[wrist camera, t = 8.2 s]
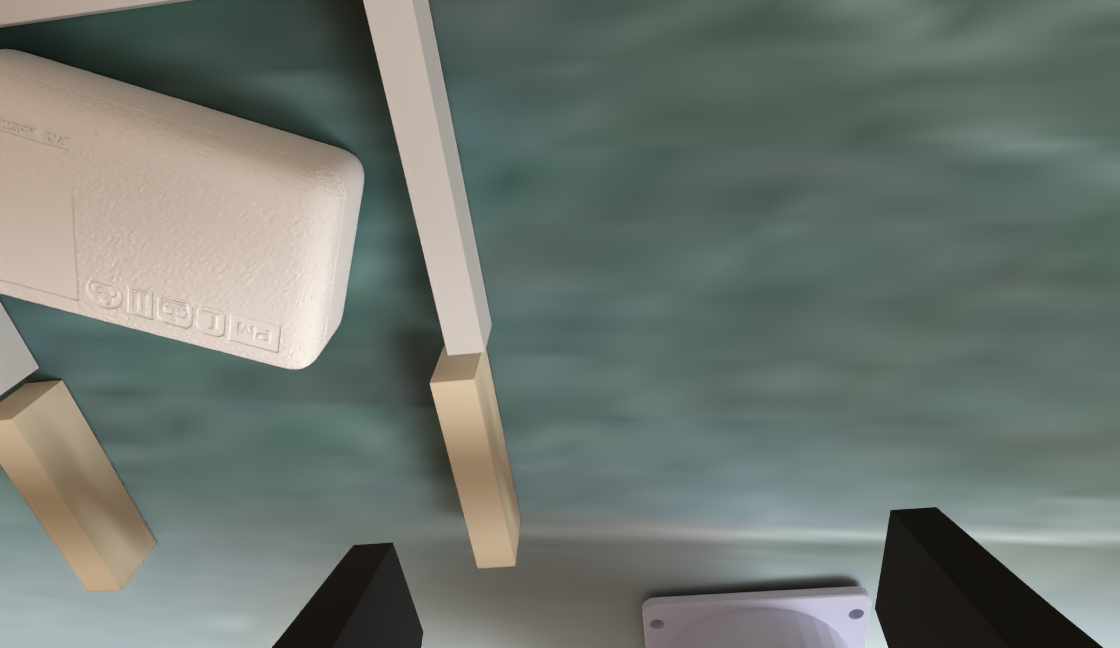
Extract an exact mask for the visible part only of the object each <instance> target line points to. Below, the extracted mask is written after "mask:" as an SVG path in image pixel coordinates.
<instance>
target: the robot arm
mask: <svg viewBox="0 0 1120 648" xmlns="http://www.w3.org/2000/svg"><path fill="white" fill-rule="evenodd" d="M871 604H872V601H871V597H870V595H869V593H868V591H867V590H866V589H865V588H862V587H858V586H850V587H832V588H814V589H796V590H778V591H760V592H742V593H725V594H707V595H689V596H671V597H654V598H650V599H648V600H646V601H645V602H644V603H643V604H642V616H643V627H644V638H645V648H865V643H866V636H867V630H868V623H869V617H870V611H871ZM875 610H876V613H877V616H878V619H879V622H880V624H881V627H882V630H883V633H884V636H885V639H886V642H887V645H888V648H1103V647H1102V646H1100V645H1099V644H1098V643H1097V642H1096V641H1094V640H1093V639H1092V638H1091V637H1089V636H1088V635H1087V634H1086V633H1084V632H1083V631H1082V630H1081V629H1080V628H1078V627H1077V626H1076V625H1075V624H1073V623H1072V622H1071V621H1070V620H1068V619H1067V618H1066V617H1065V616H1064V615H1062V614H1061V613H1060V612H1059V611H1057V610H1056V609H1055V608H1054V607H1053V606H1051V605H1050V604H1049V603H1048V602H1047V601H1045V600H1044V599H1043V598H1042V597H1041V596H1039V595H1038V594H1037V593H1036V592H1035V591H1034V590H1032V589H1031V588H1030V587H1029V586H1028V585H1026V584H1025V583H1024V582H1023V581H1022V580H1021V579H1019V578H1018V577H1017V576H1016V575H1015V574H1014V573H1012V572H1011V571H1010V570H1009V569H1008V568H1006V567H1005V566H1004V565H1003V564H1002V563H1001V562H999V561H998V560H997V559H996V558H995V557H994V556H992V555H991V554H990V553H989V552H988V551H987V550H985V549H984V548H983V547H982V546H981V545H980V544H979V543H977V542H976V541H975V540H974V539H973V538H972V537H970V536H969V535H968V534H967V533H966V532H965V531H963V530H962V529H961V528H960V527H959V526H958V525H956V524H955V523H954V522H953V521H952V520H950V519H949V518H948V517H947V516H946V515H945V514H943V513H942V512H941V511H940V510H939V509H938V508H936V507H933V508H917V509H902V510H891V511H890V518H889V524H888V530H887V536H886V543H885V549H884V555H883V561H882V568H881V574H880V580H879V586H878V593H877V599H876V605H875ZM422 637H423V630H422V627H421V624H420V621H419V618H418V615H417V612H416V609H415V606H414V604H413V601H412V598H411V595H410V592H409V589H408V586H407V583H406V580H405V577H404V574H403V571H402V568H401V565H400V562H399V559H398V556H397V553H396V550H395V547H394V545H393V543H380V544H365V545H354V546H353V547H352V548H351V549H350V550H349V551H348V553H347V554H346V555H345V556H344V558H343V559H342V560H341V561H340V563H339V564H338V565H337V566H336V568H335V569H334V570H333V571H332V573H331V574H330V575H329V576H328V578H327V579H326V580H325V582H324V583H323V584H322V585H321V587H320V588H319V589H318V590H317V592H316V593H315V594H314V596H313V597H312V598H311V599H310V601H309V602H308V603H307V604H306V606H305V607H304V608H303V610H302V611H301V612H300V613H299V615H298V616H297V617H296V618H295V620H294V621H293V622H292V623H291V625H290V626H289V627H288V628H287V630H286V631H285V632H284V633H283V635H282V636H281V637H280V638H279V640H278V641H277V642H276V643H275V644H274V646H273V647H272V648H421V645H422Z"/></svg>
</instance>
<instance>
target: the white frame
mask: <svg viewBox="0 0 1120 648" xmlns="http://www.w3.org/2000/svg"><path fill="white" fill-rule="evenodd" d="M185 1H192V0H0V28H3V27H10V26H17V25H24V24H31V23H38V22H45V21H52V20H59V19H66V18H73V17H80V16H87V15H94V14H101V13H108V12H115V11H122V10H129V9H136V8H143V7H150V6H157V5H164V4H171V3H178V2H185ZM363 2H364V6H365V10H366V14H367V18H368V23H369V27H370V31H371V35H372V39H373V44H374V48H375V52H376V56H377V60H378V64H379V69H380V73H381V77H382V81H383V85H384V90H385V94H386V98H387V102H388V106H389V111H390V115H391V119H392V123H393V127H394V132H395V136H396V140H397V144H398V148H399V153H400V157H401V161H402V165H403V169H404V174H405V178H406V182H407V186H408V190H409V195H410V199H411V203H412V207H413V211H414V216H415V220H416V224H417V228H418V232H419V237H420V241H421V245H422V249H423V253H424V258H425V262H426V266H427V270H428V274H429V279H430V283H431V287H432V291H433V295H434V300H435V304H436V308H437V312H438V316H439V321H440V325H441V329H442V333H443V337H444V342H445V346H446V350H447V354H448V355H459V354H470V353H481V352H485V349H486V345H487V342H488V338H489V334H490V330H491V326H492V324H491V319H490V314H489V308H488V303H487V298H486V293H485V288H484V283H483V278H482V273H481V268H480V263H479V257H478V252H477V247H476V242H475V237H474V232H473V227H472V222H471V217H470V211H469V206H468V201H467V196H466V191H465V186H464V181H463V176H462V171H461V165H460V160H459V155H458V150H457V145H456V140H455V135H454V130H453V125H452V119H451V114H450V109H449V104H448V99H447V94H446V89H445V84H444V79H443V73H442V68H441V63H440V58H439V53H438V48H437V43H436V38H435V33H434V27H433V22H432V17H431V12H430V7H429V2H428V0H363ZM38 368H39V367H38V365H37V363H36V362H35V360H34V358H33V356H32V355H31V353H30V351H29V350H28V348H27V346H26V345H25V343H24V341H23V340H22V338H21V336H20V335H19V333H18V331H17V329H16V328H15V326H14V324H13V323H12V321H11V319H10V318H9V316H8V314H7V313H6V311H5V309H4V308H3V306H2V304H1V302H0V395H2V394H3V393H5V392H6V391H7V390H9V389H10V388H11V387H13V386H14V385H16V384H17V383H18V382H20V381H21V380H23V379H24V378H25V377H27V376H28V375H30V374H31V373H32V372H34V371H35V370H37V369H38Z"/></svg>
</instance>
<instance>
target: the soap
mask: <svg viewBox="0 0 1120 648" xmlns="http://www.w3.org/2000/svg"><path fill="white" fill-rule="evenodd" d="M363 185H364V170H363V166H362V164H361V162H360V161H359V159H358V158H357V157H356V156H354V155H353V154H352V153H350V152H348V151H346V150H344V149H340V148H338V147H335V146H331V145H328V144H325V143H321V142H318V141H315V140H312V139H308V138H305V137H302V136H299V135H296V134H292V133H289V132H286V131H282V130H279V129H276V128H272V127H269V126H266V125H263V124H259V123H256V122H253V121H249V120H247V119H243V118H240V117H236V116H233V115H230V114H226V113H223V112H220V111H217V110H214V109H210V108H207V107H204V106H201V105H197V104H194V103H190V102H188V101H185V100H181V99H177V98H174V97H171V96H167V95H164V94H161V93H158V92H154V91H151V90H147V89H144V88H141V87H138V86H134V85H131V84H128V83H124V82H122V81H118V80H115V79H111V78H108V77H106V76H102V75H98V74H95V73H92V72H89V71H86V70H82V69H80V68H75V67H72V66H69V65H65V64H62V63H59V62H56V61H53V60H50V59H46V58H42V57H39V56H36V55H33V54H29V53H26V52H22V51H18V50H14V49H13V50H11V49H0V293H1V294H5V295H9V296H12V297H16V298H20V299H23V300H28V301H31V302H35V303H39V304H43V305H46V306H50V307H53V308H57V309H61V310H65V311H68V312H73V313H77V314H80V315H84V316H88V317H91V318H95V319H100V320H103V321H105V322H106V321H108V322H111V323H115V324H119V325H121V326H126V327H130V328H132V329H137V330H141V331H146V332H149V333H152V334H156V335H159V336H164V337H168V338H171V339H175V340H180V341H182V342H186V343H190V344H194V345H198V346H201V347H207V348H209V349H213V350H218V351H222V352H225V353H230V354H233V355H237V356H241V357H244V358H247V359H252V360H256V361H259V362H263V363H267V364H270V365H275V366H279V367H282V368H288V369H302V368H304V367H306V366H308V365H310V364H311V363H312V362H313V361H314V360H315V359H316V358H317V356H318V355H319V354H320V353H321V351H322V350H323V349H324V347H325V345H326V344H327V342H328V341H329V339H330V338H331V337H332V336H333V334H334V332H335V331H336V329H337V328H338V326H339V324H340V322H341V319H342V315H343V310H344V304H345V298H346V291H347V284H348V279H349V274H350V266H351V260H352V254H353V248H354V241H355V235H356V229H357V222H358V216H359V210H360V204H361V199H362V193H363Z"/></svg>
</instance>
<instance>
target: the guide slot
mask: <svg viewBox="0 0 1120 648" xmlns="http://www.w3.org/2000/svg"><path fill="white" fill-rule="evenodd" d="M430 386H431V390H432V394H433V398H434V402H435V406H436V410H437V413H438V417H439V421H440V425H441V429H442V433H443V437H444V440H445V444H446V448H447V452H448V456H449V460H450V463H451V467H452V471H453V475H454V479H455V483H456V487H457V490H458V494H459V498H460V502H461V506H462V510H463V514H464V517H465V521H466V525H467V529H468V533H469V537H470V540H471V544H472V548H473V552H474V556H475V560H476V564H477V567H478V568H494V567H511V566H515V565H516V557H517V548H518V539H519V531H520V522H521V517H520V512H519V507H518V502H517V498H516V493H515V488H514V483H513V478H512V473H511V468H510V463H509V458H508V454H507V449H506V444H505V439H504V434H503V429H502V424H501V419H500V414H499V410H498V405H497V400H496V395H495V390H494V385H493V380H492V375H491V370H490V366H489V361H488V356H487V351H486V349H485V352H481V353H470V354H459V355H448V354H447V350H446V346H445V345H444V347H443V349H442V352H441V354H440V357H439V360H438V362H437V365H436V368H435V370H434V373H433V376H432V378H431V381H430ZM0 464H1V466H2V467H3V469H4V470H5V472H6V473H7V475H8V476H9V478H10V479H11V481H12V482H13V483H14V485H15V486H16V488H17V489H18V491H19V492H20V494H21V495H22V497H23V498H24V500H25V501H26V502H27V504H28V505H29V507H30V508H31V510H32V511H33V513H34V514H35V516H36V517H37V519H38V520H39V522H40V523H41V524H42V526H43V527H44V529H45V530H46V532H47V533H48V535H49V536H50V538H51V539H52V541H53V542H54V544H55V545H56V546H57V548H58V549H59V551H60V552H61V554H62V555H63V557H64V558H65V560H66V561H67V563H68V564H69V566H70V567H71V568H72V570H73V571H74V573H75V574H76V576H77V577H78V579H79V580H80V582H81V583H82V585H83V586H84V588H85V589H86V590H87V592H101V591H117V590H122V589H123V588H124V586H125V585H126V584H127V582H128V581H129V580H130V578H131V577H132V576H133V574H134V573H135V572H136V570H137V569H138V568H139V566H140V565H141V564H142V562H143V561H144V560H145V558H146V557H147V556H148V554H149V553H150V552H151V550H152V549H153V548H154V546H155V545H156V544H157V543H156V541H155V539H154V538H153V536H152V534H151V532H150V531H149V529H148V527H147V526H146V524H145V522H144V520H143V519H142V517H141V515H140V513H139V512H138V510H137V508H136V507H135V505H134V503H133V501H132V500H131V498H130V496H129V494H128V493H127V491H126V489H125V488H124V486H123V484H122V482H121V481H120V479H119V477H118V475H117V474H116V472H115V470H114V469H113V467H112V465H111V463H110V462H109V460H108V458H107V456H106V455H105V453H104V451H103V449H102V448H101V446H100V444H99V443H98V441H97V439H96V437H95V436H94V434H93V432H92V430H91V429H90V427H89V425H88V424H87V422H86V420H85V418H84V417H83V415H82V413H81V411H80V410H79V408H78V406H77V405H76V403H75V401H74V399H73V398H72V396H71V394H70V392H69V391H68V389H67V387H66V386H65V384H64V382H63V380H57V381H46V382H35V383H26V384H25V385H23V386H22V387H21V388H19V389H18V390H16V391H15V392H14V393H12V394H11V395H10V396H8V397H7V398H5V399H4V400H3V401H1V402H0Z"/></svg>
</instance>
